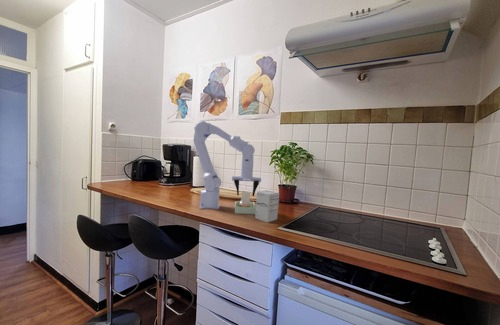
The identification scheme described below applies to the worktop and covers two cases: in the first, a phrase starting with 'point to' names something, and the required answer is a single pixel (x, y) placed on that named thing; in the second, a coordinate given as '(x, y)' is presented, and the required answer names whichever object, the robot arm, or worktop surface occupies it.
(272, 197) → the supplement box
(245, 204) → the steel tin
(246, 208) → the sage tote
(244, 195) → the cream carton
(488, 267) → the worktop surface
